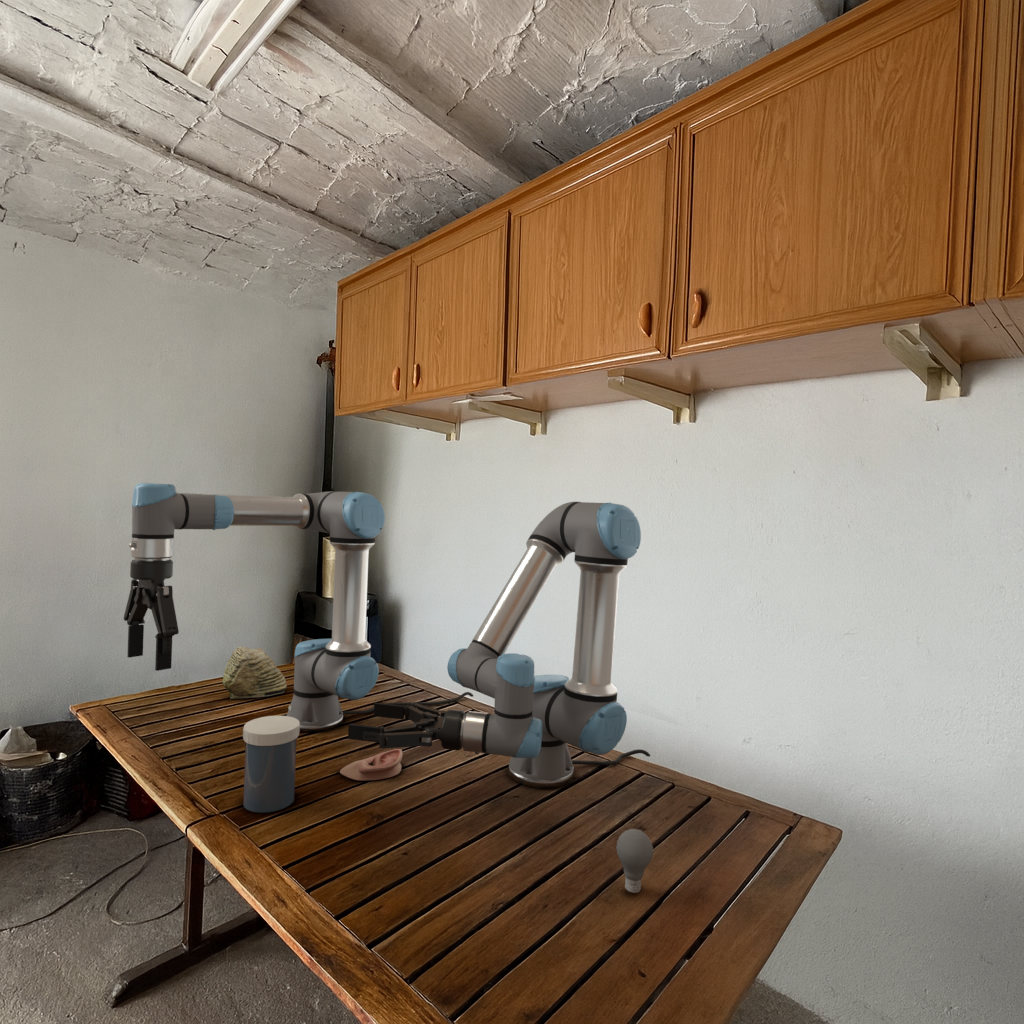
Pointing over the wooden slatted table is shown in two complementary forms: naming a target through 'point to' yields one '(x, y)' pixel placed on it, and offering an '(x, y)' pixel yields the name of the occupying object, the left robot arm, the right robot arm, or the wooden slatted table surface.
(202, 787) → the wooden slatted table surface
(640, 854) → the light bulb
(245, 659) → the fossil
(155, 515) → the left robot arm
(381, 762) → the anatomical model
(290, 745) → the jar
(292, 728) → the lid
